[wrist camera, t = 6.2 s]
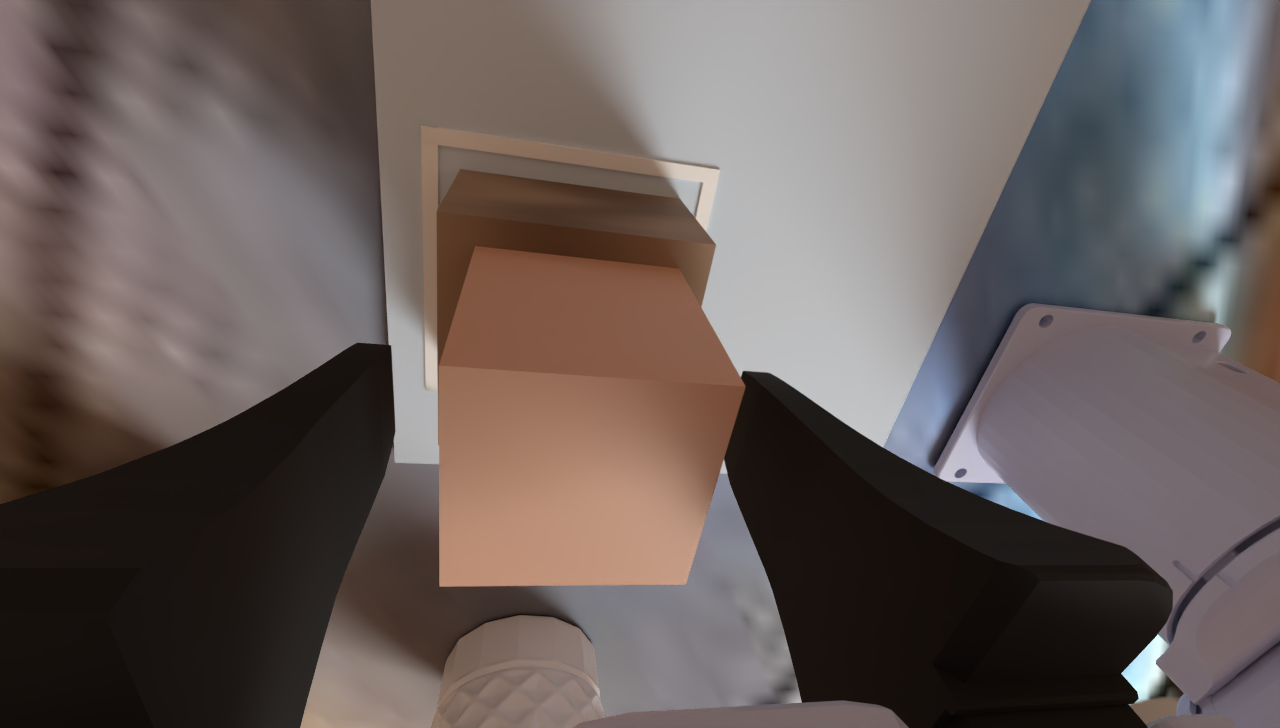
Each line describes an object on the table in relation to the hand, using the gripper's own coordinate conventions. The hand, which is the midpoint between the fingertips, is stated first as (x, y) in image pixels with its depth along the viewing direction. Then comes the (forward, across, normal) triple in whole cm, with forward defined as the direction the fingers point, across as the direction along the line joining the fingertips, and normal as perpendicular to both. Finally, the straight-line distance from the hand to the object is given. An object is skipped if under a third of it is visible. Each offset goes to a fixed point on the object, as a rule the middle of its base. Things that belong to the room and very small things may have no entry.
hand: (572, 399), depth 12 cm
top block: (+2, 0, 0) cm, 2 cm away
